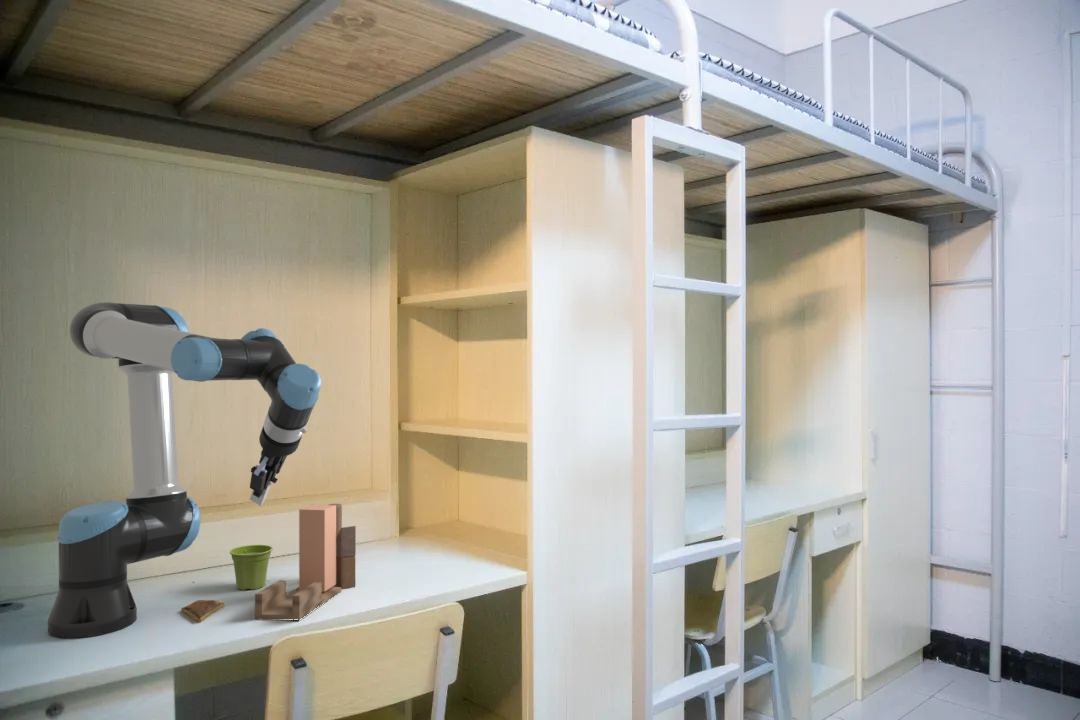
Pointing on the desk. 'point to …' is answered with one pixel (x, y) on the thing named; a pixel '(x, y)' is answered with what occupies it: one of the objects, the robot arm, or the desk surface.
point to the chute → (290, 600)
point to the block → (317, 546)
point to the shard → (202, 609)
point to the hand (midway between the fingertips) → (257, 500)
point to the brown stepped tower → (345, 552)
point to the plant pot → (251, 565)
